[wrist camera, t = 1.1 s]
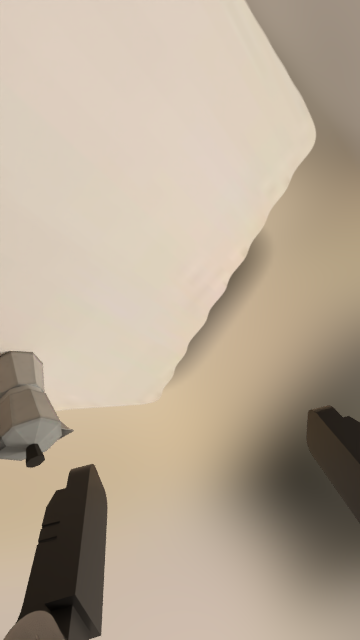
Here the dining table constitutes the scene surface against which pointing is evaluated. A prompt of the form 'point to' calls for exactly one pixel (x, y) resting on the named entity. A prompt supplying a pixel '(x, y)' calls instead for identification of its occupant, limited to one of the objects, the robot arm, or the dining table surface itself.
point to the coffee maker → (26, 410)
